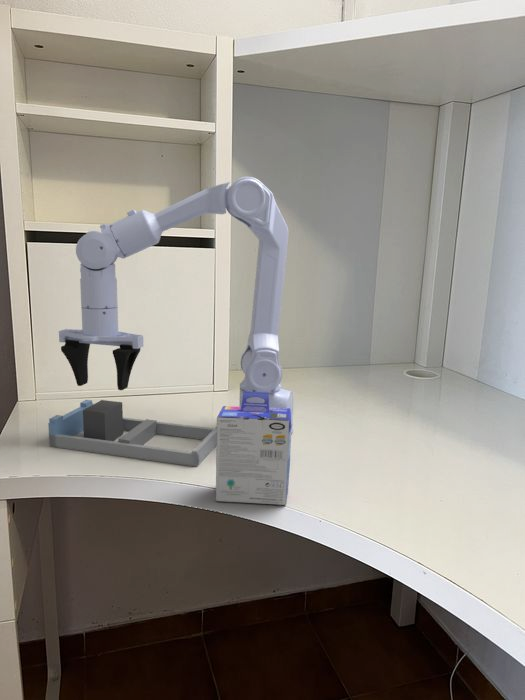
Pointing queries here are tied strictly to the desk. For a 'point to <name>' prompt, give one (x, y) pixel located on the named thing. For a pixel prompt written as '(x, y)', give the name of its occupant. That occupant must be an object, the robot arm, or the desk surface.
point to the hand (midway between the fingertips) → (102, 386)
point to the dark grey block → (103, 420)
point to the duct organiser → (132, 438)
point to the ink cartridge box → (253, 452)
